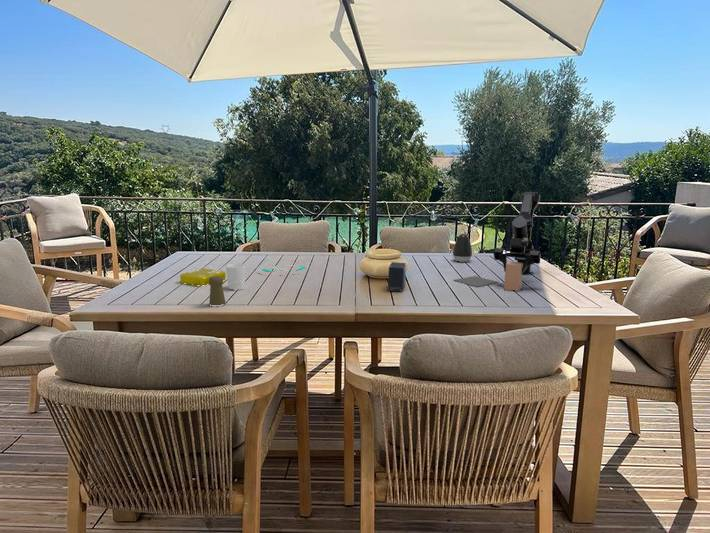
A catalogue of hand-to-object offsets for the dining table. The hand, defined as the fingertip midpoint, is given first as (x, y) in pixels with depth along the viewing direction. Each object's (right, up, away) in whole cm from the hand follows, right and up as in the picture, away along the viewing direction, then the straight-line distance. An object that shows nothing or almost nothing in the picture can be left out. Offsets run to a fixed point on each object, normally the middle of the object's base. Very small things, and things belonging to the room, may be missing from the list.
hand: (513, 272), depth 194 cm
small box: (-48, -7, +3) cm, 49 cm away
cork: (-118, -12, -20) cm, 120 cm away
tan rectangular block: (+1, -7, +3) cm, 8 cm away
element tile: (-135, -5, +16) cm, 136 cm away
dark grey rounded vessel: (-8, +5, +59) cm, 60 cm away
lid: (-102, 0, +39) cm, 109 cm away
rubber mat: (-12, -5, +15) cm, 19 cm away
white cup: (-116, -7, +3) cm, 117 cm away
